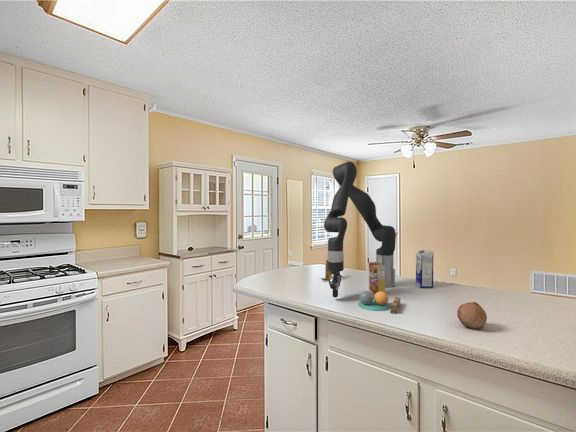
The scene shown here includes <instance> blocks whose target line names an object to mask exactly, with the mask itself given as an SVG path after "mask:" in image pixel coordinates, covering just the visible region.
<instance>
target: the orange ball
mask: <svg viewBox="0 0 576 432" xmlns="http://www.w3.org/2000/svg"><path fill="white" fill-rule="evenodd" d="M373 301H375V302H376V303H377V304H378V305H385V304H386V303H388V301H389V295H388V294H387V293H386V292H385V293H384V292H382V291H379V292H377V293H376V294H374V296H373Z"/></svg>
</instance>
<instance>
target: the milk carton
mask: <svg viewBox="0 0 576 432" xmlns="http://www.w3.org/2000/svg"><path fill="white" fill-rule="evenodd" d="M434 253H435V252H434V251H433V250H431V249H426V250H425V249H423V250H419V251H418V252H416V253H415V286H417V287H418V288H419V289H434V260H435V259H434Z"/></svg>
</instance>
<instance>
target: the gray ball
mask: <svg viewBox="0 0 576 432" xmlns="http://www.w3.org/2000/svg"><path fill="white" fill-rule="evenodd" d="M372 301H374V296H373V294H372V292H370V291H369V290H364V291H362V292H360V294H359V302H361V303H362V304H364V305H369V304H371V303H372Z"/></svg>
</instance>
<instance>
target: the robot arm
mask: <svg viewBox="0 0 576 432" xmlns="http://www.w3.org/2000/svg"><path fill="white" fill-rule="evenodd" d="M357 173H358V169H357V166H356V164H355V163H354V162H352V161H345V162H343V163H341V164H338V165H337V166H334V167H333V169H332V175H333V178H334V180H335V181H336V182H337V183H338V185H339V188H338V190H337V191H336V192H335V194H334V197H333V198H332V203H331V209H330V210H329V213H328V214H327V216H326V218H325V220H324V223H323V227H324V230H325V232H327V233H338V234H337V235H336V236H334V237H333V236H332V237H329V238H328V240H327V256H326V257H327V259H326V260H327V269H328V270H329V271H331V274H330V278H331V279H329V280H328V281H327V282H328V284H329V287H330V290H332V298H335V299H336V298H339V288H340V286H341V282H342V277H343V276H342V274H341V272H342V271H344V267H345V266H344V262H345V261H344V259H345V258H344V257H345V256H344V241H345V240H344V239H345V235H346V232H347V228H348V221H347V219H346V218H344V217H343V216H345V215H346V213H347V208H348V207H347V206H348V201H349V199H350V201H351V202H352V204H353V206H354V207H355V209H356V210H357V211H358V213H359V214H360V215H361V217H362V218H363V220H364V222H365V224H367V226H368V229H369V230H370V232H371V235H372V237H373V238H374V239H375V240H376V241H377V242H380V243H381V246H380V247H378V248H377V249H376V250H375V262H377V263H380V264H383V265H385V288H393V287H395V286H396V269H395V268H394V256H395V255H394V254H395V253H394V252H395V250H396V242H397V239H396V238H397V233H396V229H395V227H394V226H391V225H385V224H382V223H381V221H380V220H379V219H378V217H377V208H376V207H377V206H376V204H375V202H374V200H373V199H372V197H371V196H370V195H369V194H368V193H367V192H366V191H364V190H362V189H360V188H358V187H357V186H355V185H354V184H355V181H356V177H357V175H358V174H357Z"/></svg>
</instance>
